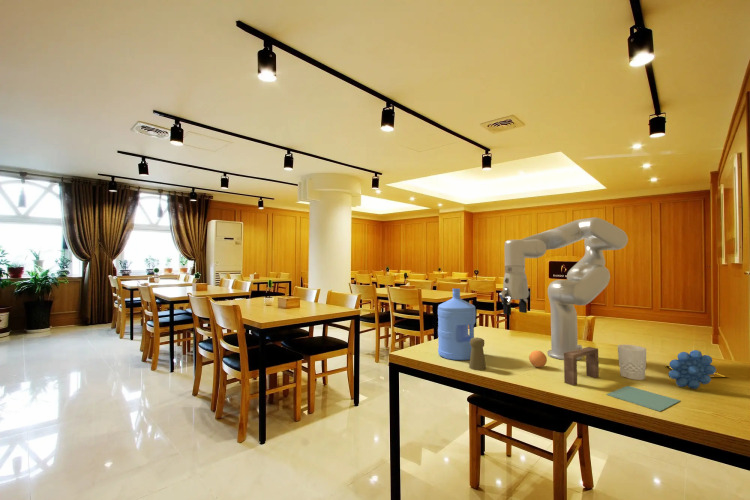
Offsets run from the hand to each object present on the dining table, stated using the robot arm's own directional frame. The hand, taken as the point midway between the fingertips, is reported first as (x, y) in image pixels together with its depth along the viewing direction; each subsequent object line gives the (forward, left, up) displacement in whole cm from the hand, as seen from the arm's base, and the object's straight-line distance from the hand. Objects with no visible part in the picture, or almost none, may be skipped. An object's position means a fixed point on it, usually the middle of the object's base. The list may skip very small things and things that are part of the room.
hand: (515, 313), depth 135 cm
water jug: (+15, -18, -19) cm, 30 cm away
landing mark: (0, +42, -19) cm, 46 cm away
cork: (+20, -2, -19) cm, 27 cm away
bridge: (0, +25, -19) cm, 32 cm away
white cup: (-18, +32, -19) cm, 42 cm away
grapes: (-22, +46, -19) cm, 55 cm away
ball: (0, +9, -16) cm, 18 cm away
